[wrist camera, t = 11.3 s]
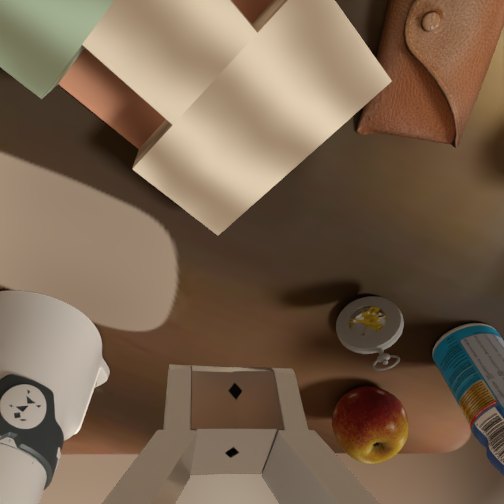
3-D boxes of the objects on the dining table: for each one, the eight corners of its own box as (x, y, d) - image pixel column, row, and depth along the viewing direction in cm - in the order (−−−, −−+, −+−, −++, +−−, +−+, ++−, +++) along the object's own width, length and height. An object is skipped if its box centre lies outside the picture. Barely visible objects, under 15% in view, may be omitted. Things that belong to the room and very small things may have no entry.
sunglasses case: (406, -164, 24) (524, -186, 19) (473, -146, 27) (586, -162, 23) (352, 140, 34) (420, 169, 30) (405, 125, 38) (473, 149, 33)
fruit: (384, 366, 53) (409, 424, 46) (402, 401, 58) (427, 457, 52) (316, 392, 55) (330, 451, 48) (339, 423, 60) (355, 480, 54)
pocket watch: (366, 342, 50) (398, 417, 42) (311, 319, 47) (334, 397, 38) (415, 297, 46) (459, 370, 38) (358, 269, 43) (394, 343, 35)
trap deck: (216, 210, 37) (218, 235, 34) (-66, -19, 26) (-105, -15, 22) (372, 67, 31) (392, 81, 28) (94, -318, 20) (72, -370, 16)
